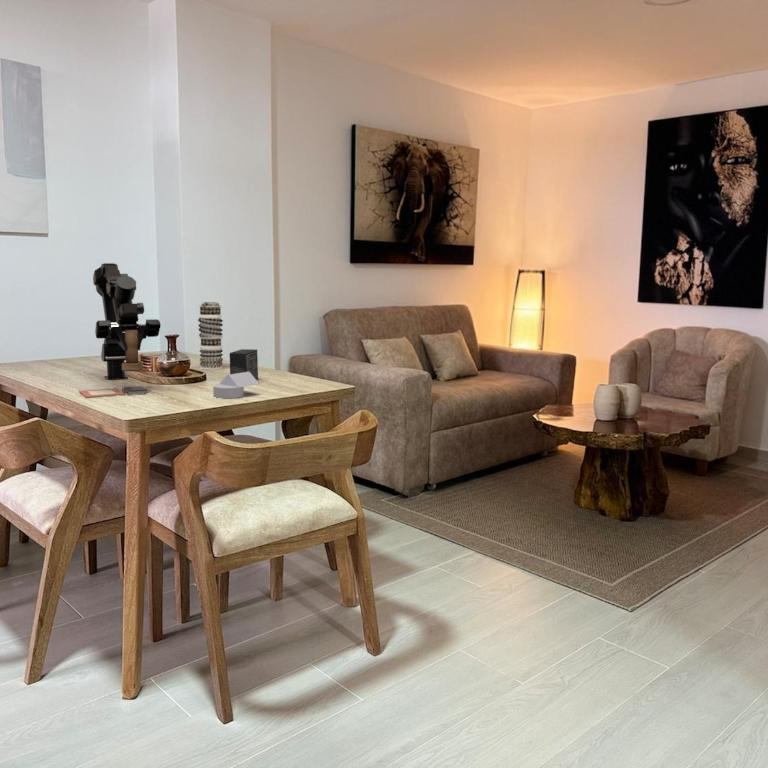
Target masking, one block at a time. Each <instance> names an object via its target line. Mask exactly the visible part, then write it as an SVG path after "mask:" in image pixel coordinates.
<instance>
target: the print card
mask: <svg viewBox="0 0 768 768" xmlns="http://www.w3.org/2000/svg"><path fill="white" fill-rule="evenodd" d="M78 393H79V394H80V395H82V396H83V397H84V398H85V399H92V398H104V397H103V396H107V397H115V396H116V395H119V396H125V394H126V393H125V392H123V391H121V390H120V389H119V388H117V387H115V388H102V389H101V388H99V389H88V390H87V389H85V390H79V391H78ZM116 397H117V396H116Z"/></svg>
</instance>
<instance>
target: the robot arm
mask: <svg viewBox="0 0 768 768" xmlns="http://www.w3.org/2000/svg"><path fill="white" fill-rule="evenodd" d="M92 276H93V277H92V280H93V281H92V282H93V286H95V291H96V293H97V294H99V296H100V297H101V299H102V306H103V313H104V319H105V320H97V321H96V322H95V330H94V333H95V334H94V335H95V338H96V339H104V340H103V343H102V346H101V353H100V357H101V361H102V362H104V363H106V370H107V371H106V372H107V373H106V374H107V375H104V378H106V379H107V380H109V381H111V380H112V381H113V380H125V379H124V378H127V379H129V377H128V376H127V375H126V371H122V363H124V362H126V350H127V348H126V343H125V330H137V336H138V351H141V346H142V342H143V340H144V339H147V338H152V337H153V338H154V337H155V338H156V337H158V336H159V335H160V331H161V321H160V320H159V319H156V318H155V319H150V318H149V319H145V324H141V323H138V322H139V315H144V312H145V306H144V303H143V302H137V303H133V300H134V297H135V294H136V293H135V292H136V290H137V281H136V280H135V279H134V278H133V277H132V276H129V274H128V273H121V271H120V269H119V266H118V264H116V263H113V262H112V263H111V262H109V263H108V262H107V263H106V262H104V263H101V265H100V267H98V268H97V269H95V270H94V271H93V275H92Z"/></svg>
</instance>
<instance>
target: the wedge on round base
mask: <svg viewBox="0 0 768 768" xmlns="http://www.w3.org/2000/svg"><path fill="white" fill-rule="evenodd" d="M259 384H260V382H259V381H258V379H255V378H254V377H253V375H252V374H251V373H250V372H243V373H236V374H230V373H229V374H227V375H226V377H225V378H223V379H221V381H220V382H219V383H216V384H213V398H214V397H216V398H215V399H218V398H223V399H222V400H235V399H234V398H237V399H240V398H239V397H242V398H244V397H243V396H245V393H244V391H245V390H244V388H245V387H248V386H254V385H259Z"/></svg>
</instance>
